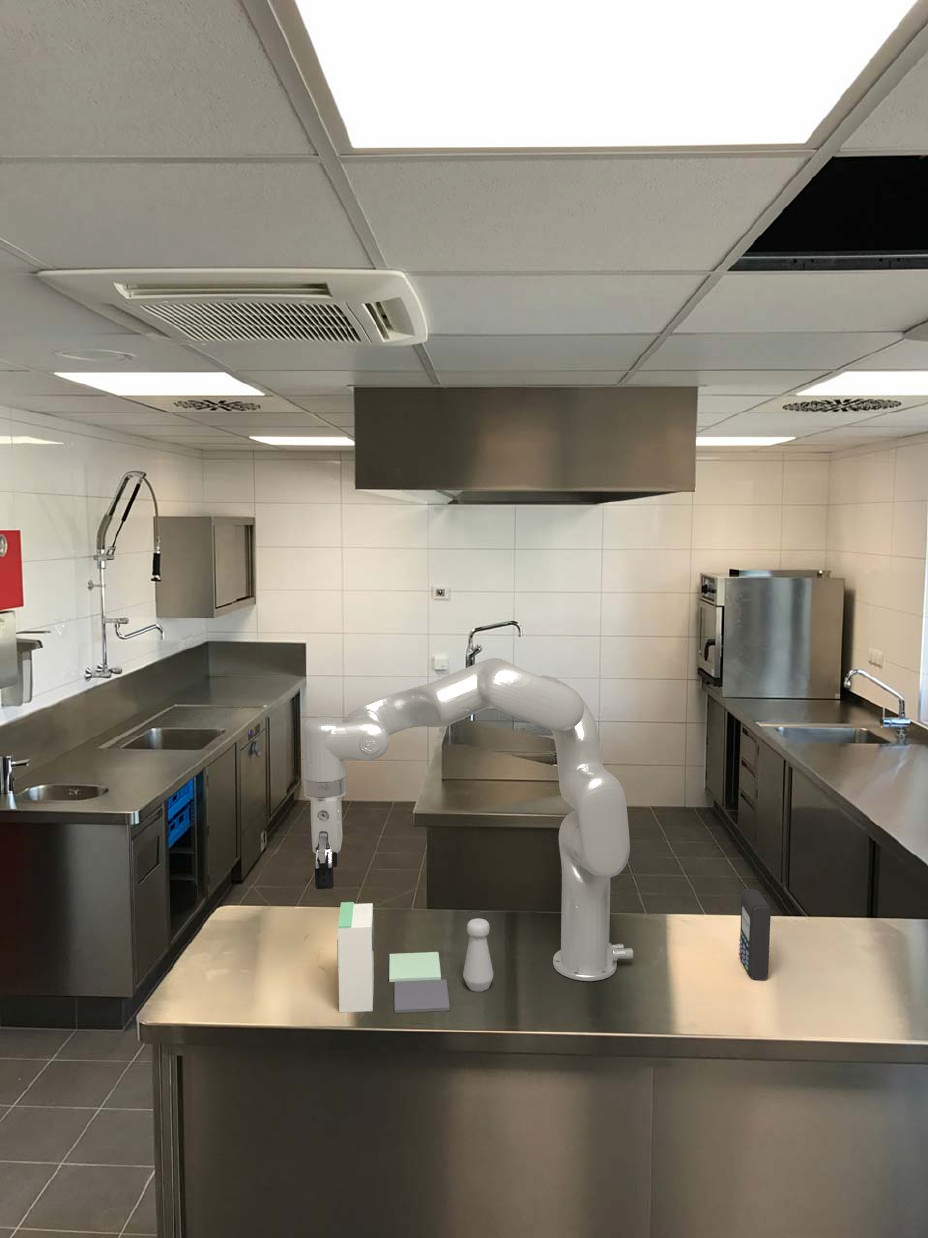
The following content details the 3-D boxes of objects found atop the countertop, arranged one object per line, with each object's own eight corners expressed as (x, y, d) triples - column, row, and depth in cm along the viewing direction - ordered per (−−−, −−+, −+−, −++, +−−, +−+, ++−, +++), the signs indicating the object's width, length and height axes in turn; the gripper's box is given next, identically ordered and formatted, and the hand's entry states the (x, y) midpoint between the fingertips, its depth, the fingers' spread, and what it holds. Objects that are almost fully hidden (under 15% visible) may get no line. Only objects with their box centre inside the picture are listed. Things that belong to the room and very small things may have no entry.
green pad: (438, 954, 181) (438, 952, 181) (440, 979, 171) (440, 977, 171) (389, 956, 180) (389, 954, 180) (389, 982, 170) (389, 979, 170)
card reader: (736, 957, 180) (739, 887, 178) (756, 958, 179) (759, 887, 178) (748, 981, 171) (751, 906, 169) (769, 981, 170) (772, 907, 169)
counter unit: (375, 982, 170) (374, 901, 168) (374, 1011, 160) (373, 925, 158) (340, 984, 170) (339, 902, 168) (337, 1012, 160) (336, 926, 158)
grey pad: (446, 982, 170) (446, 979, 170) (449, 1010, 160) (449, 1007, 160) (394, 984, 169) (394, 981, 169) (394, 1013, 160) (394, 1010, 160)
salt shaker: (490, 996, 165) (490, 930, 164) (460, 992, 166) (460, 927, 165) (495, 980, 171) (495, 916, 170) (466, 977, 172) (466, 913, 171)
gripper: (343, 800, 151) (344, 896, 153) (348, 772, 168) (349, 858, 170) (298, 802, 150) (300, 898, 152) (308, 773, 167) (310, 860, 169)
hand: (326, 877), depth 161 cm, fingers open, 9 cm apart
